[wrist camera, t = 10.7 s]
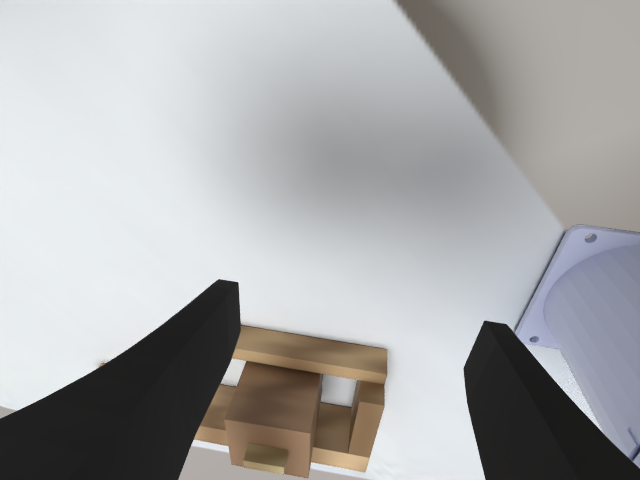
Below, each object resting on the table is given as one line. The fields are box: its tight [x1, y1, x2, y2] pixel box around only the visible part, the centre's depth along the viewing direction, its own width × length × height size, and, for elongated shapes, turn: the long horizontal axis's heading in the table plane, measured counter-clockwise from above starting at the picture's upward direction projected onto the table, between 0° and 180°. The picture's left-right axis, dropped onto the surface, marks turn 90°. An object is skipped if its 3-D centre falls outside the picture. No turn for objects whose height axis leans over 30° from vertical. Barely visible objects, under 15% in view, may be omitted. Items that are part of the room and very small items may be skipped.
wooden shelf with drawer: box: [100, 325, 387, 472], centre depth 26 cm, size 22×9×4 cm, turn 86°
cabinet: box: [224, 361, 323, 478], centre depth 24 cm, size 5×5×7 cm
